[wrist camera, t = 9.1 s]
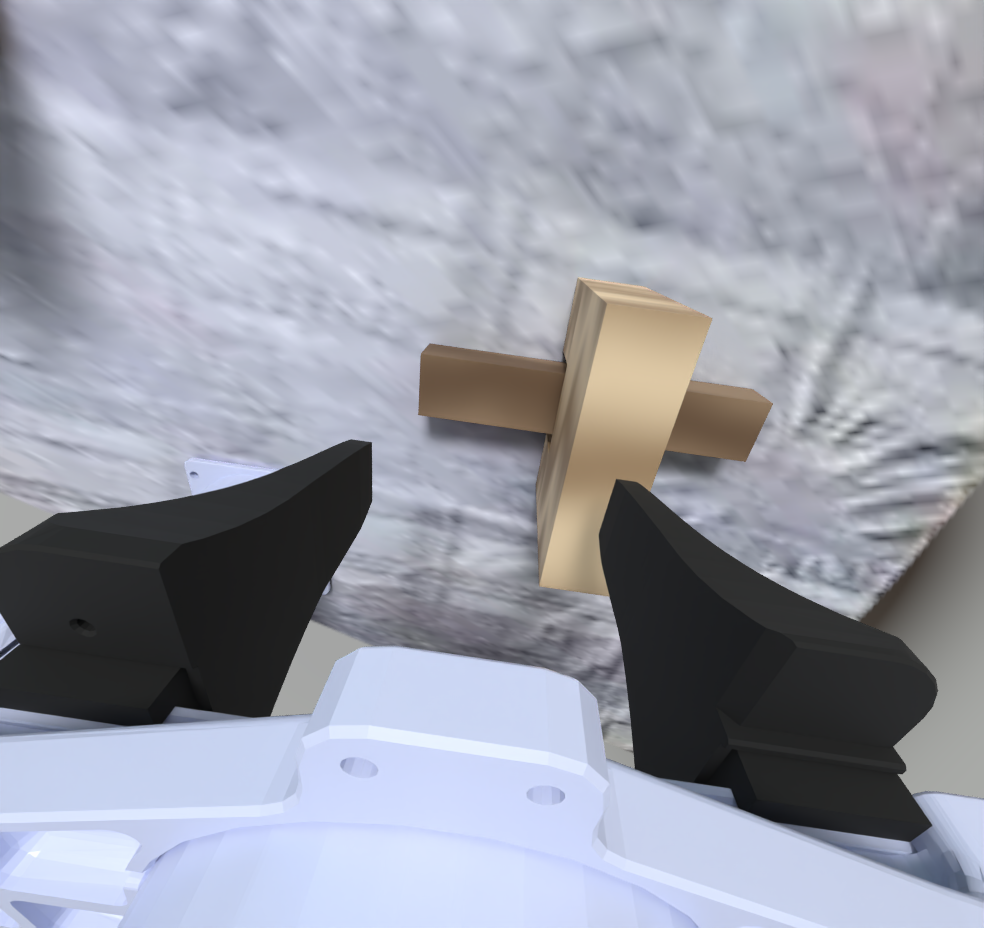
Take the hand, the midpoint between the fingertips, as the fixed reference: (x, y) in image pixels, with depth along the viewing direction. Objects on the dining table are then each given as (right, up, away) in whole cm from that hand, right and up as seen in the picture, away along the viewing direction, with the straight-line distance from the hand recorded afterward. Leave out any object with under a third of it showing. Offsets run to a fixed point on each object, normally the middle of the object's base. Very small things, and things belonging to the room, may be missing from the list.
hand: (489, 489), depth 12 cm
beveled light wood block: (+5, +4, +9) cm, 11 cm away
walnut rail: (+5, +4, +9) cm, 11 cm away
